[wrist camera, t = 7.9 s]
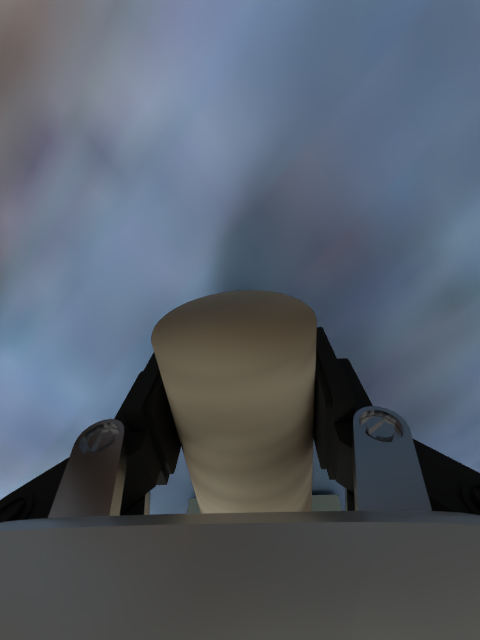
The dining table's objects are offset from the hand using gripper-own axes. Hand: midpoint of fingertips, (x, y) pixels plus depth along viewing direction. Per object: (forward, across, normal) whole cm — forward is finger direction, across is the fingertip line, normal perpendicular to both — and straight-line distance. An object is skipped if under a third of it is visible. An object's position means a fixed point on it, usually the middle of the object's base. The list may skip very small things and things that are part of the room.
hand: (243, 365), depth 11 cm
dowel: (+1, 0, +4) cm, 4 cm away
